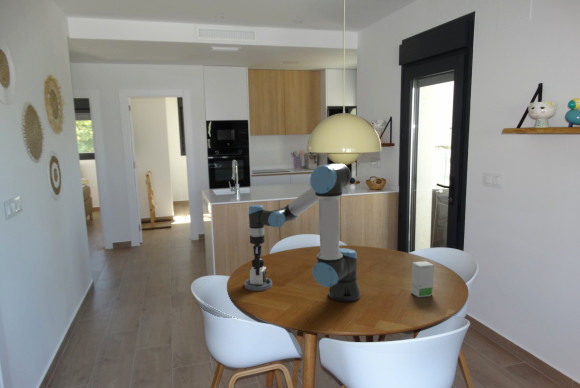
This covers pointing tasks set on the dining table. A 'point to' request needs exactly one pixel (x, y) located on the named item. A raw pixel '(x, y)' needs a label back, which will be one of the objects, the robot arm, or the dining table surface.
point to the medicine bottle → (262, 273)
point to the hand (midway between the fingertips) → (258, 277)
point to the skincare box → (422, 279)
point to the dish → (258, 285)
